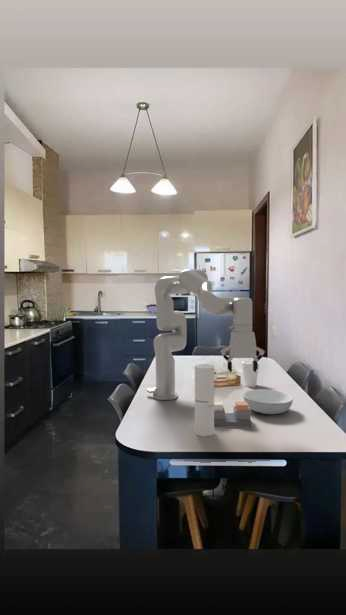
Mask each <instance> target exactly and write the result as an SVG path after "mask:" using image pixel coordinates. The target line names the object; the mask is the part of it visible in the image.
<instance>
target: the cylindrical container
mask: <svg viewBox="0 0 346 615" xmlns="http://www.w3.org/2000/svg"><path fill="white" fill-rule="evenodd" d="M214 402H215V365H213V364H207V363H201V364H200V363H199V364H195V365H194V433H195V434H196V435H197V436H200V437H210V436H213V435H214V434H215V427H214Z"/></svg>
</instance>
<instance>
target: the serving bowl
mask: <svg viewBox="0 0 346 615" xmlns="http://www.w3.org/2000/svg"><path fill="white" fill-rule="evenodd" d="M243 400H244V401H243V402H247V403H248V408H249V409H250V410H253V411H254V412H257V413H260V414H264V415H277V414H282V413H285V412H288V410H289V409H291V407H292V404H293V400H294V398H293V396H292V395H290V394H289V393H287V392H284V391H280V390H273V389H262V388H261V389H259V388H258V389H251V390H250V389H249V390H246V391H245V392H244V393H243Z"/></svg>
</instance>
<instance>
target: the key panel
mask: <svg viewBox="0 0 346 615" xmlns="http://www.w3.org/2000/svg"><path fill="white" fill-rule="evenodd" d="M252 423H253V422H252V420H251V408H249V407H248V411H236V405H234V406H233V412H226V411H225V406H223V411H214V428H215V427H217V428H252V426H253V424H252Z"/></svg>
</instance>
